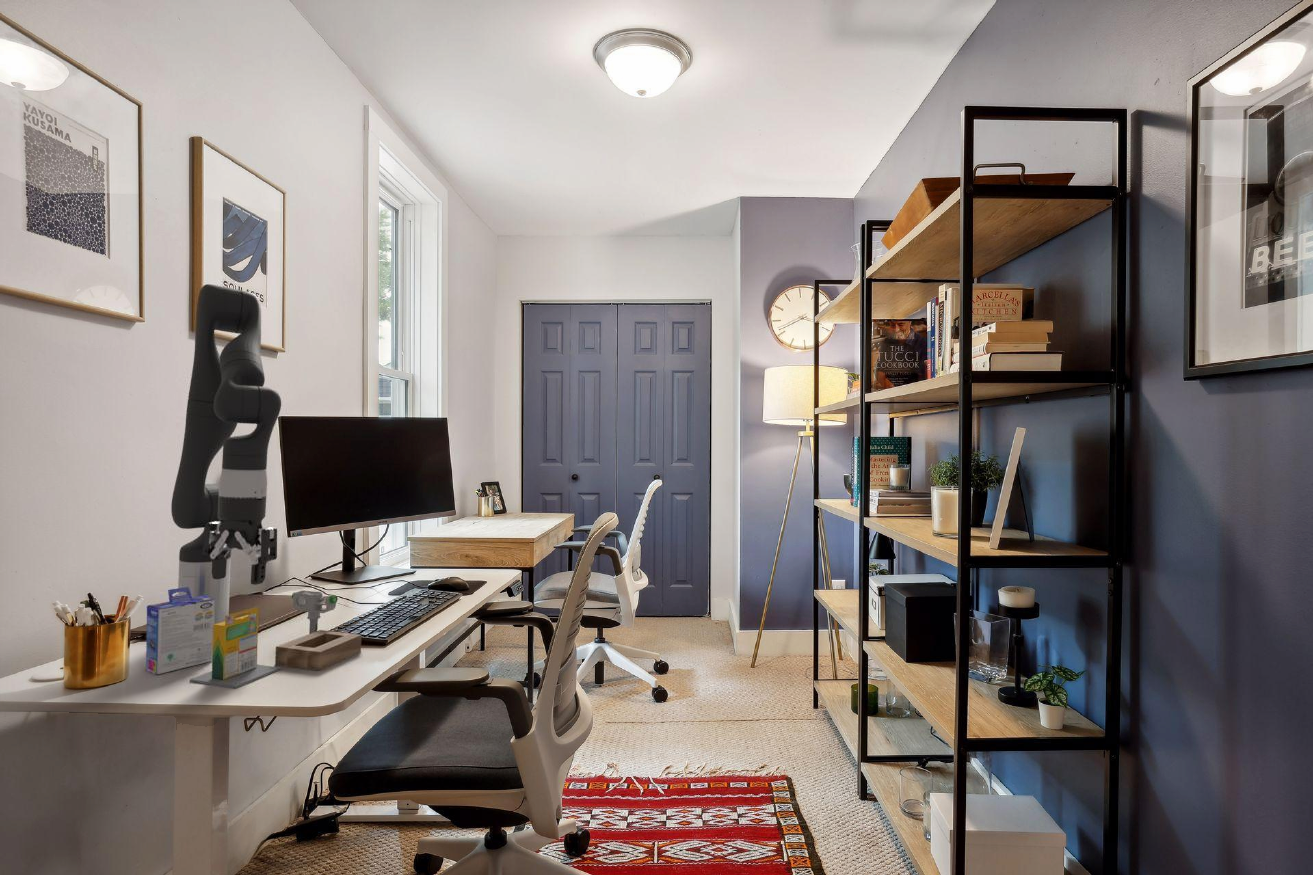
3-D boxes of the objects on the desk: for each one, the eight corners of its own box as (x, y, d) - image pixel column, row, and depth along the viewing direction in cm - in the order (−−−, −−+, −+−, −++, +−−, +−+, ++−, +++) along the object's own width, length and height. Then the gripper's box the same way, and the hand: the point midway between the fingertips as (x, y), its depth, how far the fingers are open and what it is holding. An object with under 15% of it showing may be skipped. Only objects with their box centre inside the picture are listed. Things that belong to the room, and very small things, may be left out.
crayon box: (245, 665, 127) (247, 604, 127) (257, 667, 126) (260, 606, 126) (210, 678, 120) (212, 613, 120) (223, 680, 119) (226, 615, 119)
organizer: (275, 664, 129) (275, 646, 129) (319, 646, 141) (320, 629, 141) (319, 670, 127) (320, 652, 127) (360, 651, 139) (361, 634, 139)
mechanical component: (328, 642, 144) (330, 596, 144) (287, 638, 146) (289, 592, 146) (338, 639, 147) (340, 593, 147) (297, 634, 149) (299, 589, 149)
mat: (189, 681, 119) (189, 679, 119) (236, 663, 129) (236, 661, 129) (236, 688, 117) (236, 685, 117) (280, 669, 127) (280, 667, 127)
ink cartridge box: (200, 655, 133) (203, 583, 133) (215, 661, 130) (218, 587, 130) (142, 669, 124) (145, 591, 124) (156, 675, 122) (160, 596, 122)
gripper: (193, 491, 121) (188, 581, 121) (258, 498, 118) (253, 589, 118) (228, 489, 128) (224, 573, 128) (291, 495, 125) (286, 581, 125)
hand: (238, 581), depth 123 cm, fingers open, 8 cm apart
